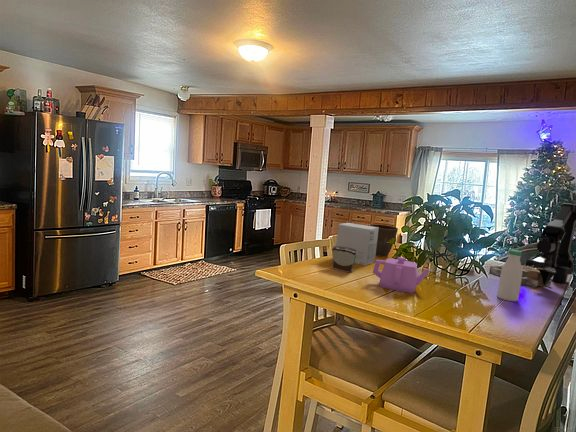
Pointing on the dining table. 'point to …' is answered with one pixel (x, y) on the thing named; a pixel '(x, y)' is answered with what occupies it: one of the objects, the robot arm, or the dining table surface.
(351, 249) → the food container
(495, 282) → the dining table surface
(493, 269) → the trap lane
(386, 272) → the teakettle
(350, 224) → the supplement box
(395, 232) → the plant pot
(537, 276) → the block
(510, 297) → the milk bottle
